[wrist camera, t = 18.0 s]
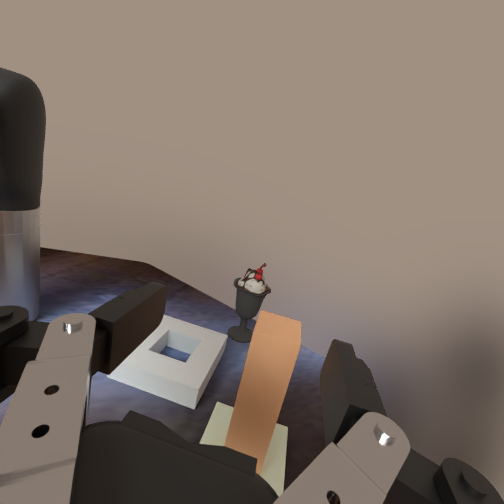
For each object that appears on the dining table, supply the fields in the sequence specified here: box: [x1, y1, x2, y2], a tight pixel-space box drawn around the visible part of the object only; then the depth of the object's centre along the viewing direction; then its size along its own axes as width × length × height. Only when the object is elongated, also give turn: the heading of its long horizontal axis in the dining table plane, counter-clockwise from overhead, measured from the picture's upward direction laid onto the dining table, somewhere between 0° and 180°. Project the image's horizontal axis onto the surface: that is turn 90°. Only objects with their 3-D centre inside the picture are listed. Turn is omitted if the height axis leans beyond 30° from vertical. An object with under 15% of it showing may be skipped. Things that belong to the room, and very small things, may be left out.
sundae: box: [228, 263, 271, 343], centre depth 46 cm, size 7×7×15 cm
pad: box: [200, 402, 288, 496], centre depth 27 cm, size 9×9×1 cm
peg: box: [224, 310, 301, 475], centre depth 25 cm, size 4×4×15 cm
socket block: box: [107, 315, 228, 410], centre depth 37 cm, size 12×12×3 cm
